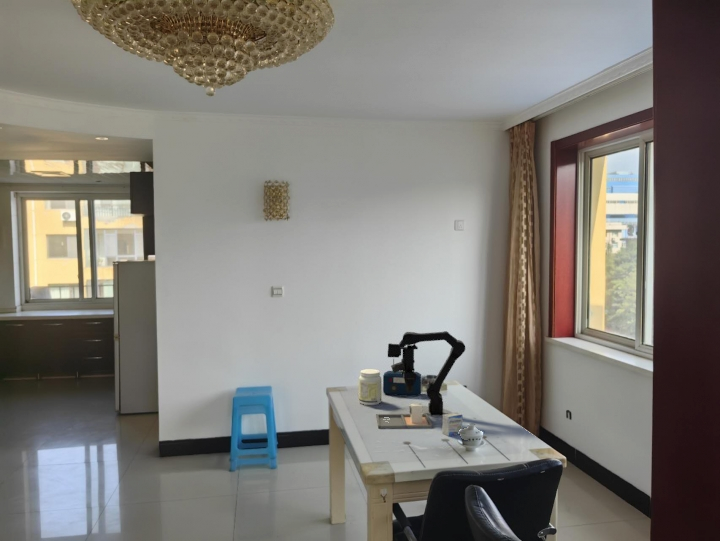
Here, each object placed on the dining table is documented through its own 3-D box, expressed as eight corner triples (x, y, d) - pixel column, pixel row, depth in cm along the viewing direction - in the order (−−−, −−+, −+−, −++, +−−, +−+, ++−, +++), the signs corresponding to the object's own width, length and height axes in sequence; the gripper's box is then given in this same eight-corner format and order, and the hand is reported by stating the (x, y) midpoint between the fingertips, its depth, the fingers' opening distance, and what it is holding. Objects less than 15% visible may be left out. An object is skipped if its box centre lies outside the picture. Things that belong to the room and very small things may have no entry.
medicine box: (448, 436, 230) (448, 417, 230) (442, 433, 234) (442, 414, 234) (462, 433, 234) (462, 414, 233) (456, 430, 238) (456, 411, 237)
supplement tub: (367, 398, 289) (367, 367, 288) (385, 401, 282) (386, 370, 281) (354, 403, 279) (354, 371, 279) (373, 407, 272) (373, 375, 271)
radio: (382, 395, 295) (383, 359, 294) (384, 391, 303) (384, 356, 302) (420, 397, 291) (420, 361, 290) (421, 392, 300) (421, 358, 299)
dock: (427, 416, 257) (427, 413, 257) (433, 428, 240) (433, 425, 240) (375, 417, 256) (375, 414, 256) (378, 429, 239) (378, 425, 239)
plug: (420, 420, 250) (421, 403, 250) (422, 422, 246) (422, 406, 246) (409, 420, 250) (409, 403, 250) (410, 423, 246) (410, 406, 246)
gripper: (390, 354, 272) (390, 383, 273) (394, 361, 253) (393, 393, 254) (411, 353, 273) (411, 383, 273) (417, 361, 254) (416, 393, 255)
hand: (408, 388), depth 264 cm, fingers open, 9 cm apart
